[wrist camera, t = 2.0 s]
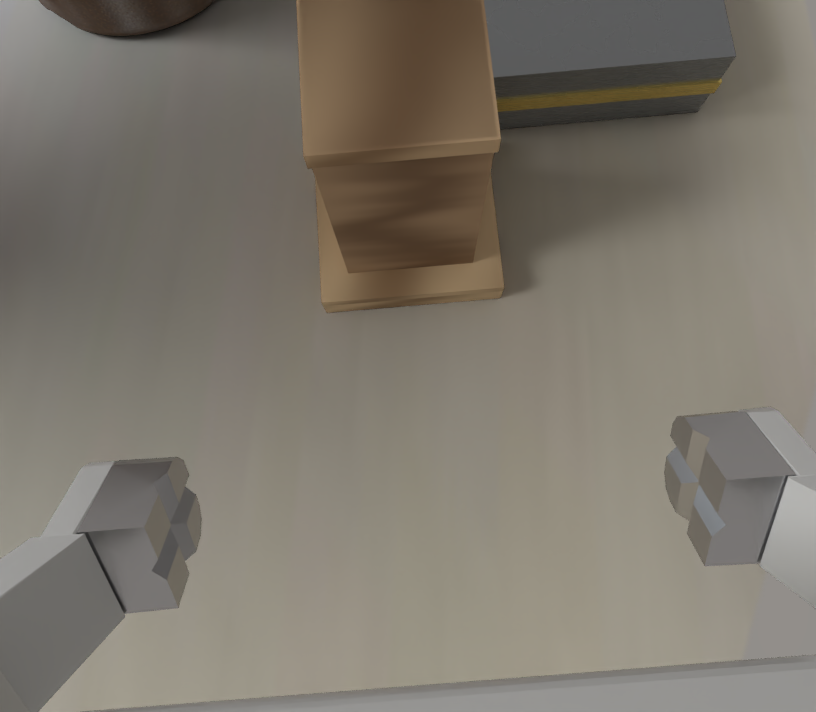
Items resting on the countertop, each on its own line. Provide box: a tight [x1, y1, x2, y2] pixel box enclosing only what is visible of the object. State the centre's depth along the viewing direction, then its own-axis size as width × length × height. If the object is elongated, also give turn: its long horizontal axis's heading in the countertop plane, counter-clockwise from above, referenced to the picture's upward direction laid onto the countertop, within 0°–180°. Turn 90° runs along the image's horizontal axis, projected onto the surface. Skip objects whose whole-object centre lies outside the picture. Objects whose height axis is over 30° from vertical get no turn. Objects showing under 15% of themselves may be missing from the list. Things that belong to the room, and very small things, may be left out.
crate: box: [296, 0, 501, 273], centre depth 24 cm, size 6×6×10 cm
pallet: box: [315, 172, 504, 313], centre depth 29 cm, size 8×8×2 cm
